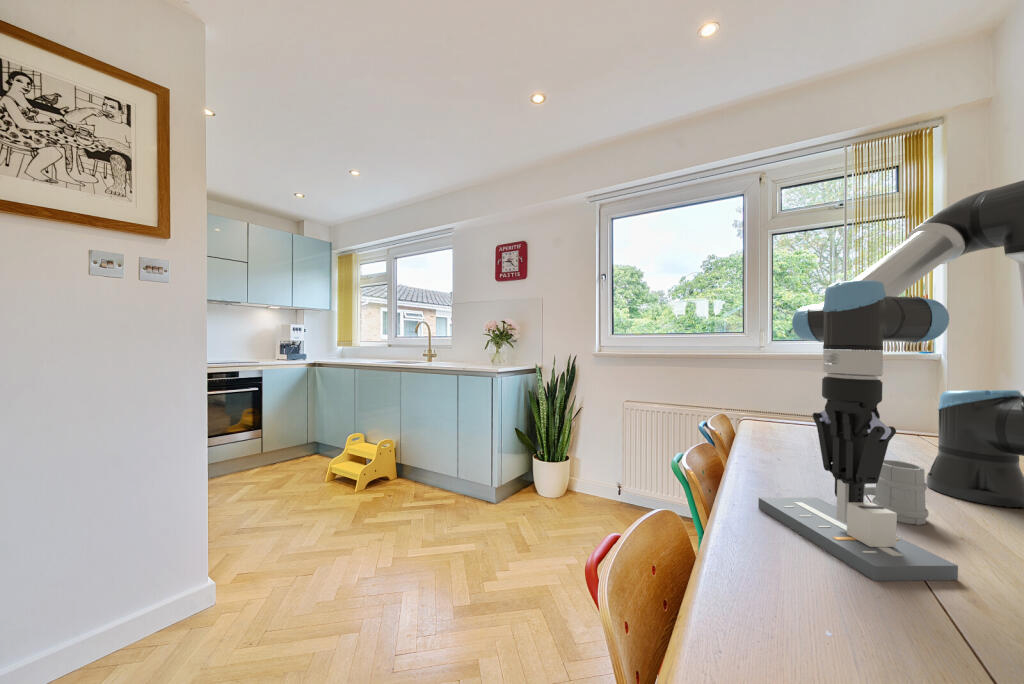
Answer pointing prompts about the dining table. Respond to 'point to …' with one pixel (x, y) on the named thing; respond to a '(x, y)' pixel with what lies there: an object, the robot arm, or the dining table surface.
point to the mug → (901, 491)
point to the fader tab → (872, 524)
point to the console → (857, 543)
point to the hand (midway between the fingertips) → (848, 520)
